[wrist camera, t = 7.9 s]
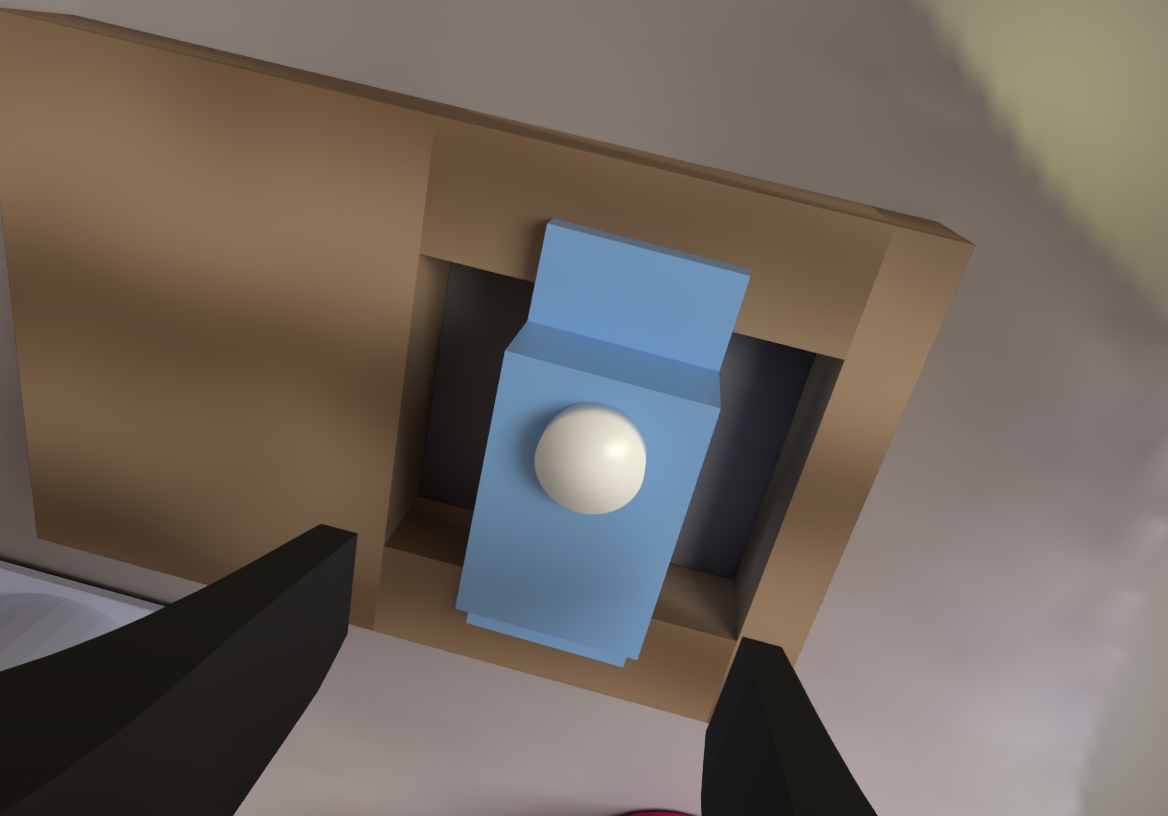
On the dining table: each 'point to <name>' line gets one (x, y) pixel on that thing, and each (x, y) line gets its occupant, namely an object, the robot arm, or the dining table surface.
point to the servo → (597, 440)
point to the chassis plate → (392, 329)
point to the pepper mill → (658, 814)
